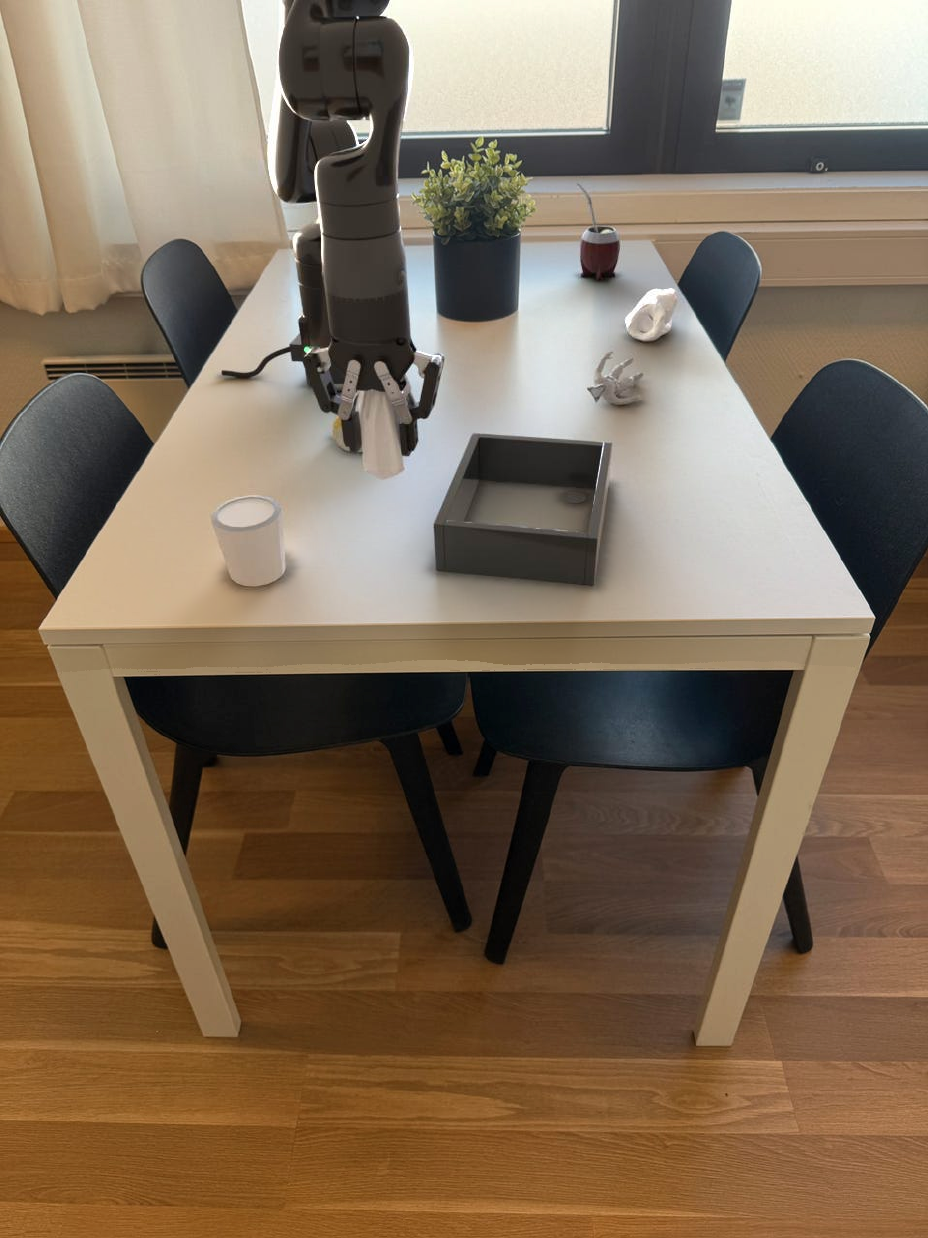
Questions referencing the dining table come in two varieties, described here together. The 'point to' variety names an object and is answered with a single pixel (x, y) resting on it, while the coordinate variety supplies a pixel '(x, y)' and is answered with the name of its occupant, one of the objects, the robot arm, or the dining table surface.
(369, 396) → the shaker set
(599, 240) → the mate gourd
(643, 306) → the white irregular lump
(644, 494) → the dining table surface
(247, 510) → the white cylinder
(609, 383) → the soldier figure
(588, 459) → the grey open box
